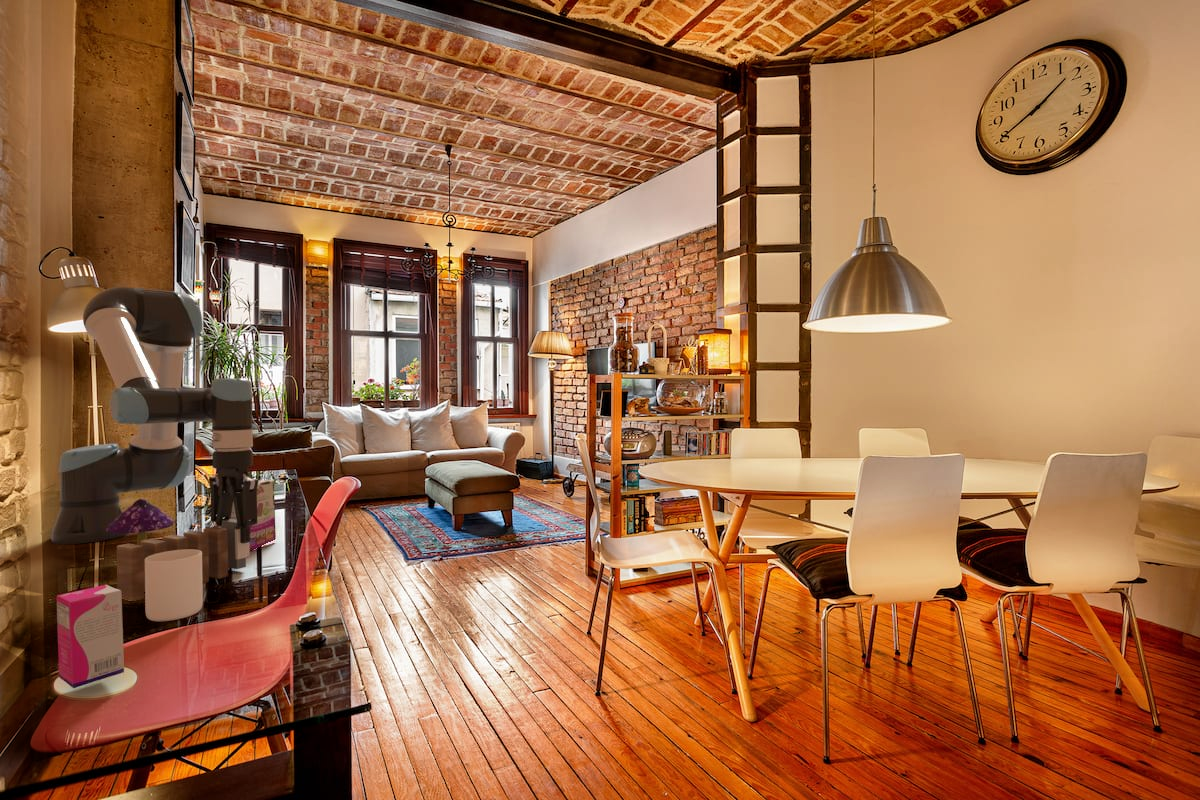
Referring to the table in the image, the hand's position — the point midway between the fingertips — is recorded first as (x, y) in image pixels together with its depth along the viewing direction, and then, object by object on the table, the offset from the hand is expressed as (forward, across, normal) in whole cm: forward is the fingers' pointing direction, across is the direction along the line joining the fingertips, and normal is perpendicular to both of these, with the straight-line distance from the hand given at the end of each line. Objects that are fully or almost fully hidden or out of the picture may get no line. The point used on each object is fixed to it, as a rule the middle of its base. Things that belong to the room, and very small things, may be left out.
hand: (234, 556), depth 134 cm
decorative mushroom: (+3, -24, -6) cm, 25 cm away
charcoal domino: (+2, 0, 0) cm, 2 cm away
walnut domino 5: (+3, 0, -4) cm, 5 cm away
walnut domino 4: (+3, 0, -8) cm, 9 cm away
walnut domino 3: (+3, 0, -12) cm, 12 cm away
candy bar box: (+3, -15, +14) cm, 21 cm away
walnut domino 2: (+3, 0, -16) cm, 16 cm away
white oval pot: (+3, +14, -20) cm, 25 cm away
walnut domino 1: (+3, 0, -20) cm, 20 cm away
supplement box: (+3, +31, -40) cm, 51 cm away
